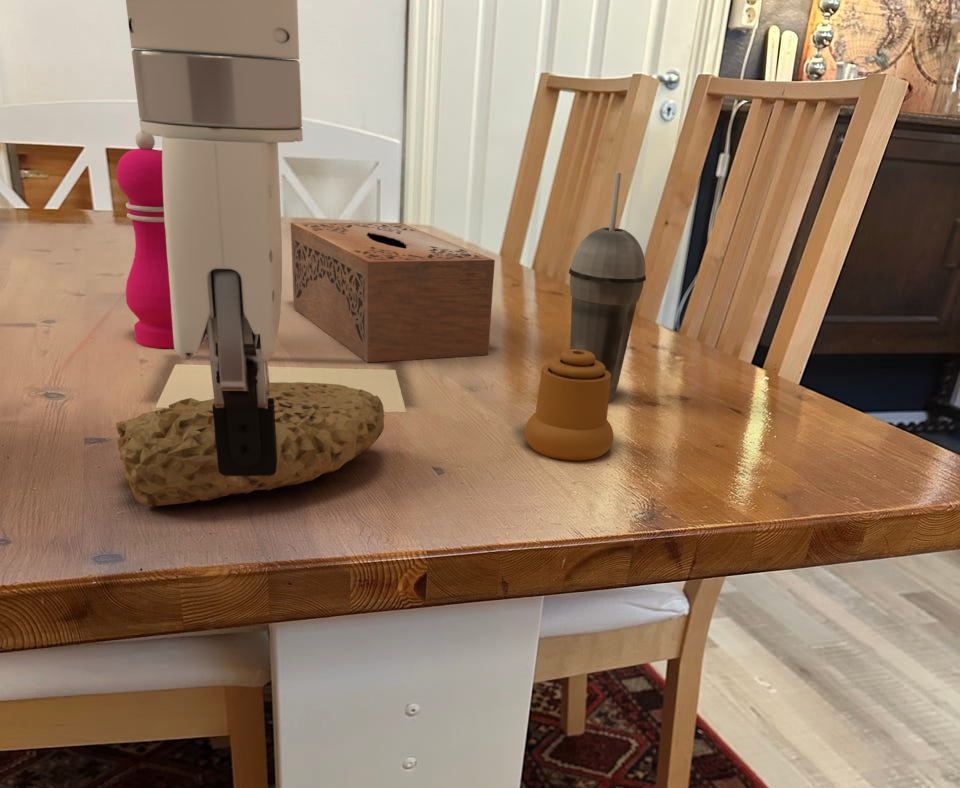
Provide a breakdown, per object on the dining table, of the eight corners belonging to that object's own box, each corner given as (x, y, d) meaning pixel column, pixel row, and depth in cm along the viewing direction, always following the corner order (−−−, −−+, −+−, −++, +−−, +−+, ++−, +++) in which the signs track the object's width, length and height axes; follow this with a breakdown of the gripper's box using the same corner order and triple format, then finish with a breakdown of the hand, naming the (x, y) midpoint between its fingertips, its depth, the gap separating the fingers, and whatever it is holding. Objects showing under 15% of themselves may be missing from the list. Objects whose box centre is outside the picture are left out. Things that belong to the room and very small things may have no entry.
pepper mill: (135, 332, 102) (110, 125, 92) (203, 333, 104) (185, 130, 93) (127, 349, 96) (98, 130, 86) (199, 350, 98) (179, 135, 87)
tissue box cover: (488, 354, 104) (494, 260, 99) (367, 362, 98) (367, 261, 93) (399, 304, 123) (401, 223, 118) (293, 308, 117) (290, 222, 112)
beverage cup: (559, 405, 89) (585, 174, 79) (551, 384, 96) (574, 167, 85) (633, 409, 90) (669, 180, 79) (621, 388, 96) (653, 173, 86)
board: (155, 409, 81) (154, 407, 81) (175, 366, 93) (175, 364, 93) (406, 414, 85) (406, 411, 85) (395, 371, 96) (395, 369, 96)
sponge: (152, 548, 61) (431, 461, 66) (107, 430, 57) (405, 349, 63) (138, 505, 72) (378, 434, 77) (100, 405, 68) (354, 338, 74)
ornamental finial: (526, 429, 82) (610, 437, 82) (521, 458, 76) (612, 467, 76) (534, 337, 78) (623, 345, 78) (530, 360, 72) (626, 368, 72)
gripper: (160, 94, 50) (195, 428, 59) (107, 101, 37) (162, 524, 46) (303, 102, 51) (315, 429, 60) (298, 112, 38) (314, 523, 48)
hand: (248, 469), depth 53 cm, fingers closed
